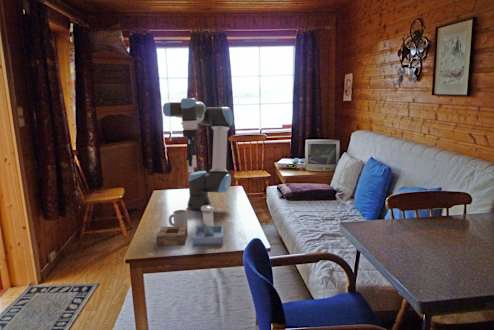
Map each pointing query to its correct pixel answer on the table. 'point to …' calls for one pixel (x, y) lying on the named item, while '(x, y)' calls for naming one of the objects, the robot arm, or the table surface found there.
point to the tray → (201, 240)
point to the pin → (208, 220)
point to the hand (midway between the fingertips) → (192, 169)
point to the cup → (179, 218)
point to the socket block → (172, 236)
